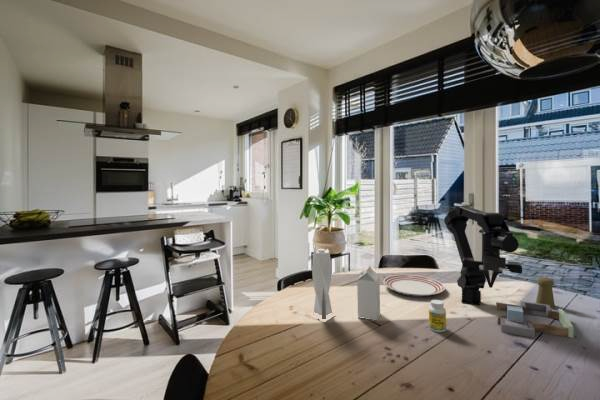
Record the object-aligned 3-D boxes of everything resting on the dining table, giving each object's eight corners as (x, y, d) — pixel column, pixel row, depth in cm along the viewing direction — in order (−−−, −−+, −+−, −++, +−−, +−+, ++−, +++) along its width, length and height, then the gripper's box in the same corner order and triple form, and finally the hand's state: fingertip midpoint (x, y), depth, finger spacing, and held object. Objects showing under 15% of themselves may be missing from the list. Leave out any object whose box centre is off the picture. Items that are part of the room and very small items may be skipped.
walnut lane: (497, 324, 107) (497, 317, 107) (496, 308, 120) (496, 302, 120) (568, 336, 97) (568, 329, 97) (558, 318, 110) (558, 311, 110)
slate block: (507, 320, 110) (507, 309, 110) (506, 315, 114) (507, 305, 114) (523, 323, 108) (523, 312, 108) (521, 318, 112) (521, 307, 111)
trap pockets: (501, 331, 102) (501, 324, 102) (497, 303, 125) (498, 297, 125) (565, 343, 93) (565, 335, 93) (549, 311, 116) (549, 305, 116)
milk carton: (380, 313, 118) (379, 265, 117) (376, 321, 112) (375, 270, 111) (362, 311, 121) (361, 264, 120) (357, 318, 115) (356, 269, 114)
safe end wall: (568, 336, 97) (568, 326, 97) (558, 318, 110) (558, 308, 110) (573, 337, 97) (573, 327, 96) (562, 318, 110) (562, 309, 110)
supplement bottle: (444, 326, 107) (444, 299, 106) (447, 333, 102) (447, 305, 101) (428, 324, 108) (428, 298, 108) (429, 331, 103) (429, 304, 103)
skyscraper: (307, 317, 118) (305, 246, 117) (320, 310, 124) (319, 242, 122) (324, 323, 112) (322, 248, 111) (337, 316, 118) (335, 245, 117)
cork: (558, 308, 118) (559, 280, 118) (541, 307, 120) (541, 280, 119) (549, 302, 124) (549, 276, 124) (532, 301, 125) (532, 275, 125)
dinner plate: (448, 285, 149) (448, 278, 148) (440, 305, 125) (440, 297, 125) (392, 277, 163) (392, 271, 163) (375, 294, 140) (375, 286, 140)
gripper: (461, 248, 111) (461, 290, 112) (524, 253, 102) (523, 299, 103) (463, 243, 121) (463, 281, 122) (520, 247, 111) (520, 288, 112)
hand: (490, 287), depth 114 cm, fingers closed
